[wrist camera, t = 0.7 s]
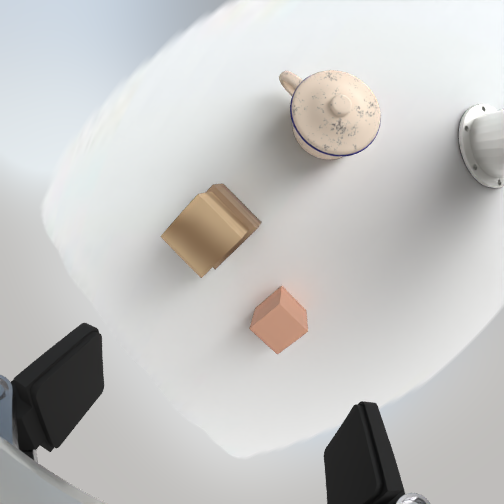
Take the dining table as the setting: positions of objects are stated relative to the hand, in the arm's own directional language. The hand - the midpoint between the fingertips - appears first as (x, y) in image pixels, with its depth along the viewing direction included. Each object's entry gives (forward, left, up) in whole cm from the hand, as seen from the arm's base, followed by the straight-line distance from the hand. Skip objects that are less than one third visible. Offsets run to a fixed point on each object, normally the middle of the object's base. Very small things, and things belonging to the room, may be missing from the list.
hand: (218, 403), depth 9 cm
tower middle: (+4, -6, -25) cm, 26 cm away
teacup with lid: (-15, -7, -30) cm, 34 cm away
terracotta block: (+6, +8, -30) cm, 31 cm away
